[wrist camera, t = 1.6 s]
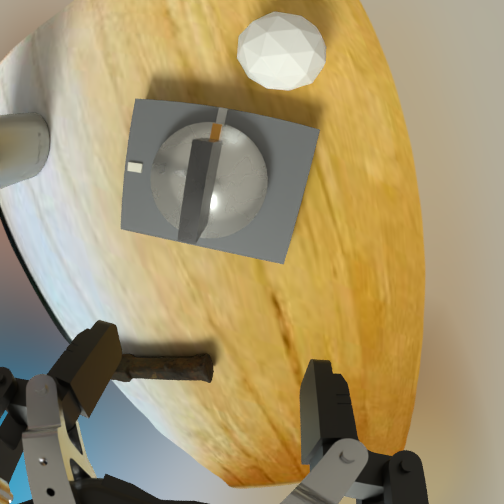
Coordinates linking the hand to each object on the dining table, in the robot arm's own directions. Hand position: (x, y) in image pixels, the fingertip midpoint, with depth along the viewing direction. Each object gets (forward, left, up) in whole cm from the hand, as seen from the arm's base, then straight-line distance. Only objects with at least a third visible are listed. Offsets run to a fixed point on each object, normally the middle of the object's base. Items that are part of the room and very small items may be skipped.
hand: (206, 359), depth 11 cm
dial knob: (-4, +3, -18) cm, 19 cm away
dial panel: (-4, +3, -21) cm, 22 cm away
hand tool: (-9, -26, -22) cm, 35 cm away
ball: (0, +16, -21) cm, 27 cm away
